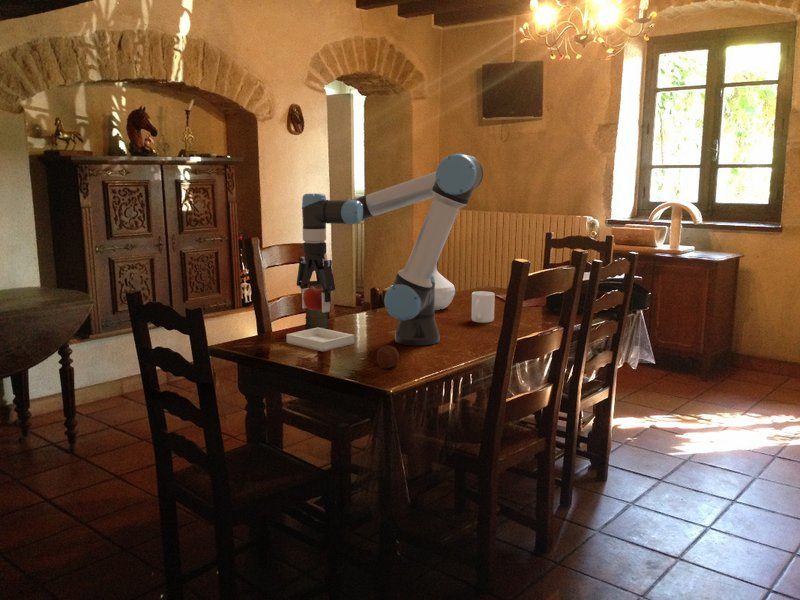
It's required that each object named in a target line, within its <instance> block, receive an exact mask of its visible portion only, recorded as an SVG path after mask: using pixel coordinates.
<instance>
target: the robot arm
mask: <svg viewBox="0 0 800 600" xmlns="http://www.w3.org/2000/svg"><path fill="white" fill-rule="evenodd" d="M483 178H484V169H483V165H482V164H481V162H480V161H479V159H478V158H476V157H475V156H473V155H470V154H463V153H452V154H449V155H448V156H446V157H444V158H443V159H442V160H440V162H439V163H438V165H437V167H436V170H435V171H433V172H431V173H428V174H425V175H421V176H418V177H416V178H413V179H410V180H407V181H404V182H401V183H397V184H395V185H392V186H389V187H387V188H383V189H380V190H377V191H374V192H372V193H368V194H366V195H365V194H364V195H362V196H358V197H356V198H353V199H352V198H351V199H332V200H330V199H327V198H326V195H325V194H324V193H304V194H303V195H302V198H301V199H302V204H301V209H302V211H301V212H302V241H303V243H302V253H303V254H304V255H305V256H299V257H298V270H297V279H296V287H299V288H300V289H301V291H300V292H301V298H302V299H301V301H302V302H301V303H302V304H301V305H302V307H301V308H302V309H306V308H307V307H306V305H305V303H304V300H303V294H304V292H305V291H306V290H307V289H309V288H308V287H309V286H308V285H309V282H310V281H311V279H312V275H313V273H314V272H315V273H316V274H317V276H318V277H317V278H318V280H319V281H320V282H321V285H322V288H323V291H322V312H327V313H328V312H330V311H331V308H330V307H331V306H330V305H331V302H332V296H331V295H332V294H331V292H333V291H335V290H336V284H335V280H334V279H335V278H334V272H333V267H332V266H333V262H332V259H326V258H325V254H326V253H327V242H326V240H327V224H330V225H331V224H334V225H335V224H336V225H337V224H338V225H339V224H340V225H349V226H351V225H358V224H360V223H361V222H362V221H365V220H367V219H369V218H370V219H371V218H373V217H376V216H379V215H382V214H384V213H388V212H392V211H394V210H398V209H401V208H404V207H407V206H410V205H414V204H417V203H419V202H423V201H427V200H430V199H432V198H433V199H432V202H431V204H430V206H429V209H428V212H427V213H426V216H425V219H424V221H423V223H422V225H421V228H420V230H419V233H418V234H417V235H418V236H416V241H415V243H414V244H413V247H412V250H411V253H410V255H409V257H408V260H407V262H406V264H405V267H404V268H403V269H399V270H397V271H398V272H397V273H396V276H395V278H394V280H393V284H392V285H391V286H390V287H389V288H388V289H387V291H386V292H385V295H384V298H383V301H384V303H383V304H384V307H385V310H386V312H387V313H388V314H389V315H390V316H391V317H392V318H394V319H395V320H399V321H398V324H397V327H396V331H395V333H394V341H395V343H397V344H401V345H404V346H412V347H413V346H414V347H415V346H418V347H420V346H430V345H435V344H437V343H440V341H441V339H440V337H441V336H440V332H439V329H438V326H437V321H436V319H435V312H436V310H435V278H434V276H433V275H432V273H433V271H434V268H435V266H436V263H438V262H439V258H440V256H441V254H442V251H443V250H444V246H445V244H446V242H447V239H448V238H449V235H450V232H451V230H452V228H453V226H454V223H455V221H456V218H457V217H458V213H459V212H460V209H461V208H463V207H466V206H468V203H469V201H470V199H471V196H472V194H473V192H474V191H475V190H476V189H478V188H479V186H480V185H481V183H483V182H482V181H483ZM326 287H327V288H326ZM330 298H331V299H330ZM330 301H331V302H330Z"/></svg>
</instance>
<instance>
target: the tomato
mask: <svg viewBox="0 0 800 600" xmlns="http://www.w3.org/2000/svg"><path fill="white" fill-rule="evenodd" d="M322 291H323V288H322V287H318V286H311V287H310V288H309V289H307V290H306V291H305V292H304V294H303V300H304V303H305V305H306V307H307V308H308V309H310V310H322ZM330 299H331V301H330V303H331V302H332V297H331V298H330Z"/></svg>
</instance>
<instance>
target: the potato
mask: <svg viewBox="0 0 800 600" xmlns="http://www.w3.org/2000/svg"><path fill="white" fill-rule="evenodd" d="M399 361H400V354H399V351H398V350H397V348H396V347H395V346H392V345H387V344H386V345H382V346H381V347H380V348H379V349H378V350H377V352H376V363H377V365H378V366H379V367H380V368H382V369H391V368H392V367H395V366H397V365H398V363H399Z"/></svg>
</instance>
